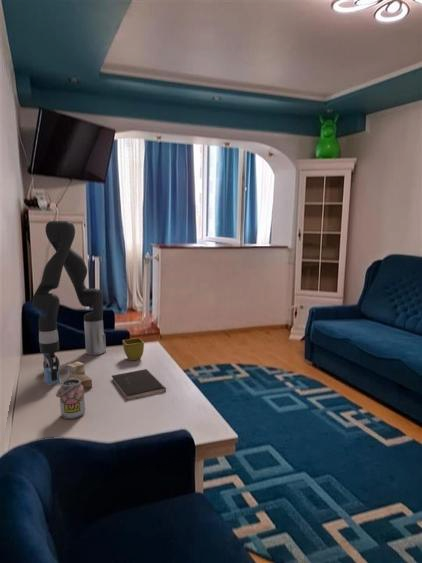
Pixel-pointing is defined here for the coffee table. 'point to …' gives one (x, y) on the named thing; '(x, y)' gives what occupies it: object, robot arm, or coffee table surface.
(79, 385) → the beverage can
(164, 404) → the coffee table surface
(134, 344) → the flower pot
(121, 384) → the hardcover book
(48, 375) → the blue block
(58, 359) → the brown oval piece
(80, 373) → the beech block
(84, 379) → the walnut base
